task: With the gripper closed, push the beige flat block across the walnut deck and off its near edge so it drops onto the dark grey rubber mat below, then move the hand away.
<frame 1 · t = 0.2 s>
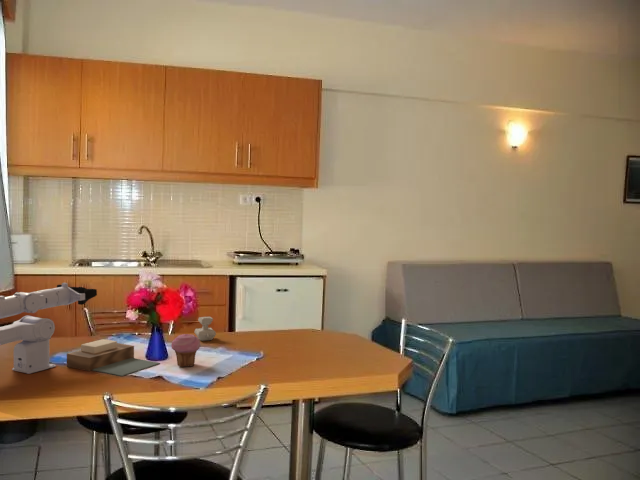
hand: (87, 291, 197), 21 cm above the table, fingers open, 7 cm apart
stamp: (205, 340, 223), on the table
mat: (126, 367, 184), on the table
beige flat block: (99, 349, 189), point 4 cm above the table, touching deck
deck: (101, 362, 189), on the table
cupcake: (185, 365, 187), on the table
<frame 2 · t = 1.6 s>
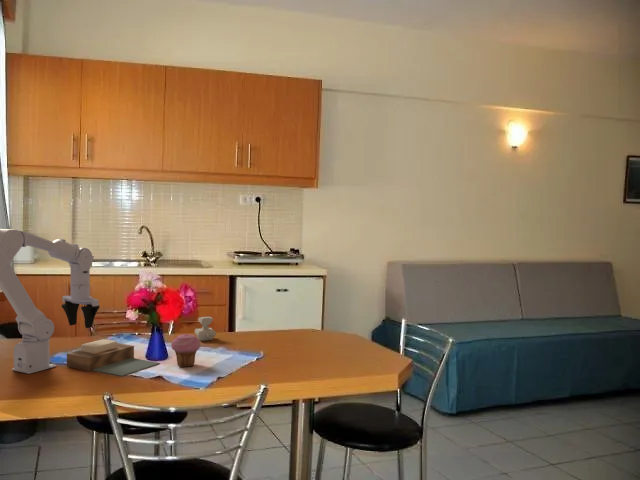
hand: (80, 326, 193), 10 cm above the table, fingers open, 7 cm apart
nothing on the table moved.
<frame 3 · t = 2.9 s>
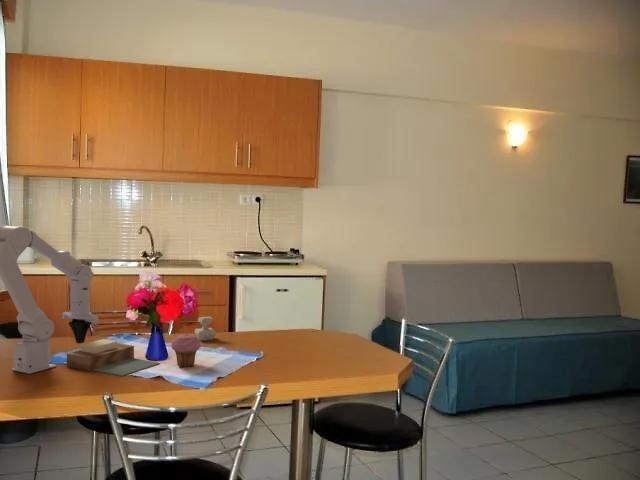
hand: (80, 342, 193), 5 cm above the table, fingers closed
nothing on the table moved.
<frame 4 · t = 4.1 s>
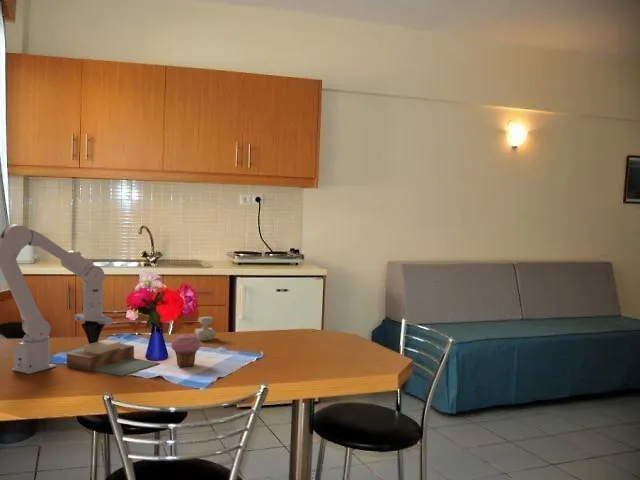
hand: (93, 344, 191), 5 cm above the table, fingers closed
beige flat block: (102, 349, 189), point 4 cm above the table, touching deck, gripper
everything else where it was.
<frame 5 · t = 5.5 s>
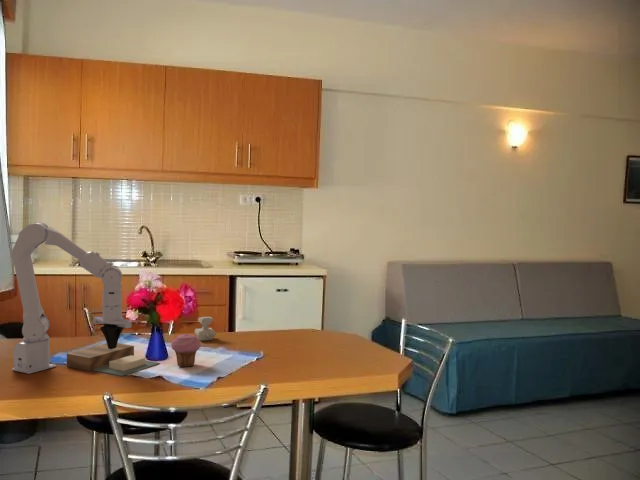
hand: (112, 348, 187), 5 cm above the table, fingers closed
beige flat block: (127, 359, 184), point 2 cm above the table, tilted 180°, touching mat
everything else where it was.
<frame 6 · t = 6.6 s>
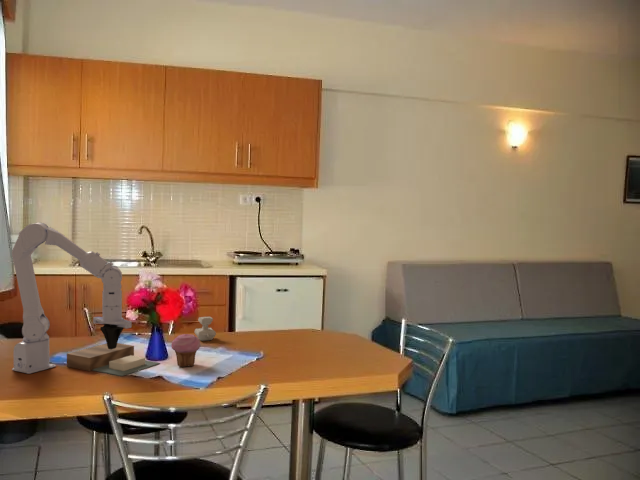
hand: (112, 348, 187), 5 cm above the table, fingers closed
nothing on the table moved.
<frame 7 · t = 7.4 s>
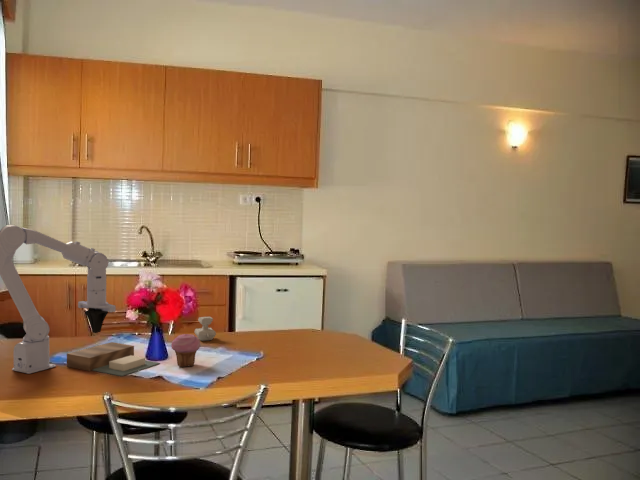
hand: (96, 332, 189), 9 cm above the table, fingers closed
nothing on the table moved.
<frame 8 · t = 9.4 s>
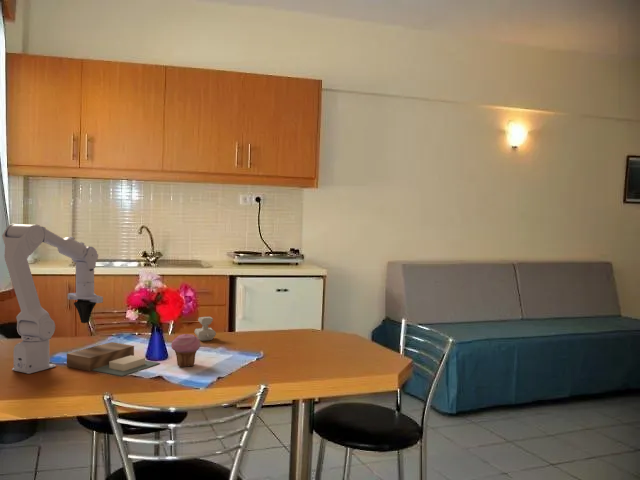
hand: (85, 322, 199), 10 cm above the table, fingers closed
nothing on the table moved.
at the end: beige flat block point 2.3 cm above the table; beige flat block inside the target area on the mat (0.2 cm from its centre), point 2.3 cm above the mat's base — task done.
